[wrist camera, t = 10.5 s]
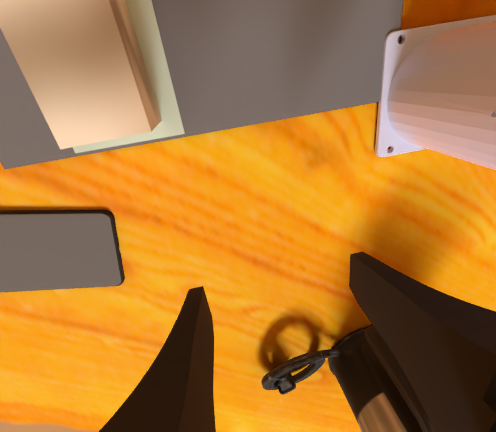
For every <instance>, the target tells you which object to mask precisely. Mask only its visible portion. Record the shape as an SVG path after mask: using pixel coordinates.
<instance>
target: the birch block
mask: <svg viewBox="0 0 496 432" xmlns="http://www.w3.org/2000/svg"><path fill="white" fill-rule="evenodd" d="M0 28H1V30H2V32H3V34H4V36H5V38H6V40H7V42H8V44H9V46H10V48H11V50H12V52H13V54H14V57H15V59H16V61H17V63H18V65H19V67H20V69H21V71H22V73H23V75H24V77H25V79H26V81H27V83H28V85H29V87H30V89H31V91H32V93H33V95H34V97H35V99H36V101H37V103H38V105H39V107H40V109H41V111H42V113H43V115H44V117H45V119H46V121H47V123H48V125H49V127H50V129H51V131H52V133H53V135H54V137H55V140H56V142H57V144H58V146H59V148H60V149H66V148H71V147H76V146H81V145H86V144H91V143H96V142H101V141H106V140H111V139H117V138H122V137H127V136H132V135H137V134H142V133H147V132H152V131H153V129H154V128H155V127H156V126H157V125H158V124H159V123H160V122H161V121H162V119H161V116H160V113H159V109H158V106H157V103H156V99H155V96H154V93H153V89H152V86H151V83H150V79H149V76H148V73H147V70H146V66H145V63H144V60H143V56H142V53H141V50H140V46H139V43H138V40H137V36H136V33H135V30H134V26H133V23H132V20H131V16H130V13H129V10H128V6H127V3H126V0H0Z"/></svg>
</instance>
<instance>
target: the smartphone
mask: <svg viewBox="0 0 496 432" xmlns="http://www.w3.org/2000/svg"><path fill="white" fill-rule="evenodd" d="M115 225H116V224H115V218H114V215H113V214H112V213H111V212H110V211H107V210H12V211H0V292H16V291H34V290H52V289H70V288H89V287H107V286H119V285H121V284H122V283H123V282H124V279H125V277H124V271H123V265H122V259H121V253H119V242H118V237H117V235H116V234H117V233H116V231H117V230H116V226H115Z"/></svg>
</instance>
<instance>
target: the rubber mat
mask: <svg viewBox="0 0 496 432" xmlns="http://www.w3.org/2000/svg"><path fill="white" fill-rule="evenodd" d="M126 3H127V6H128V10H129V13H130V16H131V20H132V23H133V26H134V30H135V33H136V36H137V40H138V43H139V46H140V50H141V53H142V56H143V60H144V63H145V66H146V70H147V73H148V76H149V79H150V83H151V86H152V89H153V93H154V96H155V99H156V103H157V106H158V109H159V113H160V116H161V119H162V121H161V122H160V123H159V124H158V125H157V126H156V127H155V128H154V129H153V131H152V132H147V133H142V134H137V135H132V136H127V137H122V138H117V139H111V140H106V141H101V142H96V143H91V144H86V145H81V146H76V147H71V148H66V149H60V148H59V146H58V144H57V142H56V140H55V137H54V135H53V133H52V131H51V129H50V127H49V125H48V123H47V121H46V119H45V117H44V115H43V113H42V111H41V109H40V107H39V105H38V103H37V101H36V99H35V97H34V95H33V93H32V91H31V89H30V87H29V85H28V83H27V81H26V79H25V77H24V75H23V73H22V71H21V69H20V67H19V65H18V63H17V61H16V59H15V57H14V54H13V52H12V50H11V48H10V46H9V44H8V42H7V40H6V38H5V36H4V34H3V32H2V30H1V28H0V162H1V164H2V166H3V167H4V169H9V168H14V167H20V166H25V165H31V164H37V163H42V162H48V161H53V160H59V159H64V158H70V157H75V156H81V155H86V154H92V153H98V152H103V151H109V150H114V149H120V148H125V147H131V146H136V145H142V144H148V143H153V142H159V141H164V140H170V139H175V138H181V137H186V136H192V135H198V134H203V133H209V132H214V131H220V130H225V129H231V128H236V127H242V126H247V125H253V124H259V123H264V122H270V121H275V120H281V119H286V118H292V117H297V116H303V115H309V114H314V113H320V112H325V111H331V110H336V109H342V108H347V107H353V106H359V105H364V104H370V103H375V102H380V94H381V81H382V68H383V55H384V42H385V38H386V37H387V35H388V34H389V33H391V32H393V31H399V30H400V29H401V19H402V9H403V0H126ZM399 39H400V36H399V37H398V40H397V41H398V43H399Z"/></svg>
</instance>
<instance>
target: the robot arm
mask: <svg viewBox="0 0 496 432" xmlns="http://www.w3.org/2000/svg"><path fill="white" fill-rule="evenodd" d="M399 36H401V42H400V44H399V43H398V41H397V40H398V37H399ZM388 147H390V150H389V151H388V152H387V149H388ZM423 149H430V150H433V151H436V152H440V153H443V154H446V155H449V156H452V157H455V158H459V159H462V160H465V161H468V162H471V163H474V164H477V165H481V166H484V167H487V168H490V169H493V170H496V15H491V16H485V17H479V18H473V19H466V20H460V21H454V22H448V23H442V24H436V25H430V26H424V27H417V28H411V29H405V30H399V31H393V32H391V33H389V34H388V35H387V37H386V38H385V42H384V55H383V68H382V81H381V94H380V102H379V104H378V118H377V131H376V145H375V154H376V155H377V156H379V157H387V156H392V155H397V154H402V153H408V152H413V151H418V150H423ZM349 287H350V289H351V291H352V293H353V294H354V296H355V298H356V300H357V302H358V304H359V305H360V307H361V308H362V310H363V311H364V313H365V314H366V315H367V317H368V318H369V320H370V321H371V322H372V324H373V325H374V327H375V328H376V329H377V331H378V332H379V334H380V335H381V336H382V338H383V339H384V341H385V342H386V343H387V345H388V346H389V348H390V349H391V351H392V352H393V354H394V356H395V357H396V359H397V361H398V362H399V364H400V366H401V368H402V369H403V371H404V373H405V375H406V376H407V378H408V380H409V382H410V384H411V385H412V387H413V389H414V391H415V393H416V394H417V396H418V398H419V400H420V402H421V404H422V406H423V408H424V410H425V412H426V414H427V415H428V417H429V419H430V421H431V423H432V425H433V427H434V429H435V431H436V432H496V312H495V311H492V310H489V309H485V308H482V307H479V306H477V305H474V304H471V303H468V302H465V301H462V300H460V299H457V298H454V297H452V296H449V295H447V294H445V293H442V292H440V291H437V290H435V289H433V288H430V287H428V286H426V285H424V284H422V283H420V282H418V281H416V280H414V279H412V278H410V277H408V276H406V275H404V274H402V273H400V272H398V271H397V270H395V269H393V268H391V267H389V266H388V265H386V264H384V263H382V262H380V261H379V260H377V259H375V258H373V257H372V256H370V255H368V254H366V253H364V252H359V253H354V254H351V256H350V282H349ZM213 367H214V332H213V322H212V315H211V312H210V309H209V305H208V302H207V298H206V295H205V292H204V288H203V286H202V287H197V288H193V289H190V290H189V291H188V293H187V296H186V299H185V301H184V304H183V306H182V309H181V311H180V313H179V316H178V318H177V320H176V322H175V324H174V326H173V328H172V330H171V332H170V334H169V336H168V338H167V340H166V342H165V344H164V345H163V347H162V349H161V351H160V352H159V354H158V356H157V357H156V359H155V360H154V362H153V364H152V365H151V367H150V368H149V370H148V371H147V373H146V374H145V375H144V377H143V378H142V380H141V381H140V383H139V384H138V385H137V387H136V388H135V389H134V391H133V392H132V393H131V394H130V396H129V397H128V398H127V399H126V401H125V402H124V403H123V404H122V406H121V407H120V408H119V409H118V411H117V412H116V413H115V414H114V415H113V417H112V418H111V419H110V420H109V421H108V422H107V423H106V424H105V425H104V427H103V428H102V429H101V430H100V431H99V432H216V430H215V416H214V402H213Z"/></svg>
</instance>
